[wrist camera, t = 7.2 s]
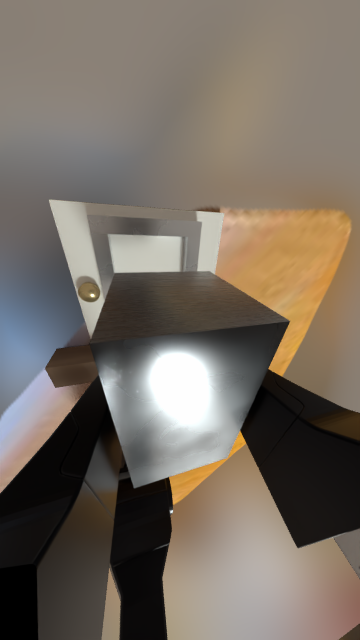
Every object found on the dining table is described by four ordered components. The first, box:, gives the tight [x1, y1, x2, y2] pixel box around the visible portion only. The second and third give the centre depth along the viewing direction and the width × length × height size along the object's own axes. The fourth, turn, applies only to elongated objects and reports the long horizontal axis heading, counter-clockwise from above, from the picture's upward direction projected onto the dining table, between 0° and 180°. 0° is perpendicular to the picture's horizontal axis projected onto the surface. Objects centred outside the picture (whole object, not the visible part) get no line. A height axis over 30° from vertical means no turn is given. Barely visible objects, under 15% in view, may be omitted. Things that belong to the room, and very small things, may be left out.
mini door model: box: [49, 200, 224, 339], centre depth 17 cm, size 14×14×2 cm
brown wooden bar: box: [45, 345, 98, 388], centre depth 20 cm, size 3×22×3 cm, turn 87°
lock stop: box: [89, 271, 290, 488], centre depth 8 cm, size 8×4×5 cm, turn 177°
